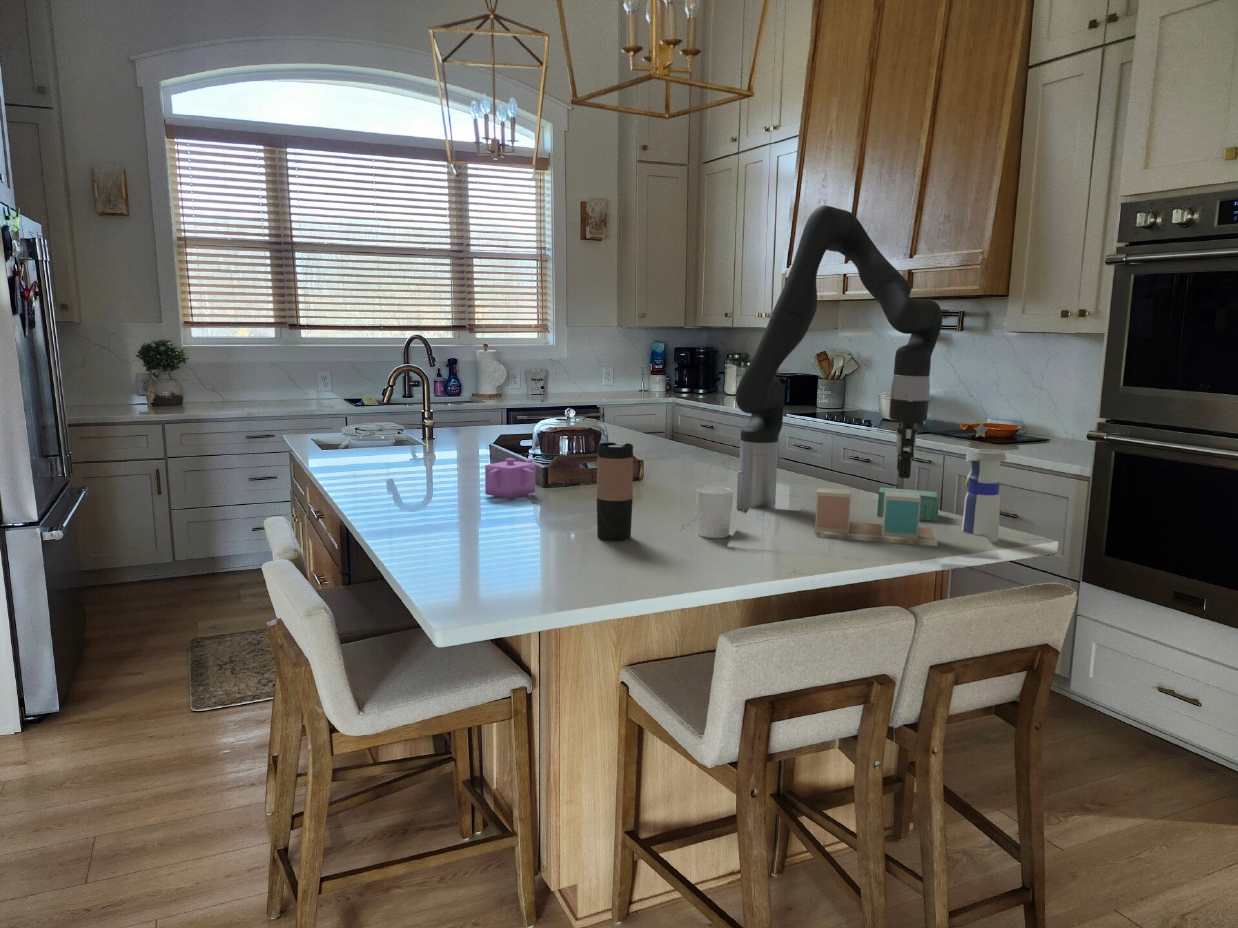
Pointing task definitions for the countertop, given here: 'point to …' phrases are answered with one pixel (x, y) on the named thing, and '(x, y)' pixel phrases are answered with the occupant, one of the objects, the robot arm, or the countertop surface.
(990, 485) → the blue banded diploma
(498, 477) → the teapot
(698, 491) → the white cup
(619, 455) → the travel mug
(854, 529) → the board
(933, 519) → the box
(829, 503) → the faced carton
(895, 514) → the carton
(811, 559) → the countertop surface
